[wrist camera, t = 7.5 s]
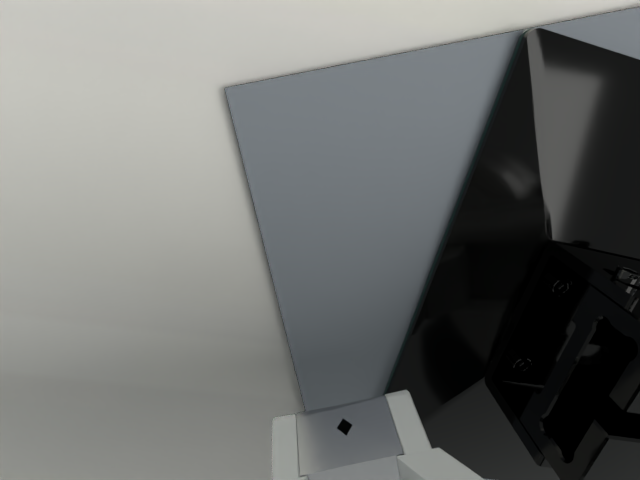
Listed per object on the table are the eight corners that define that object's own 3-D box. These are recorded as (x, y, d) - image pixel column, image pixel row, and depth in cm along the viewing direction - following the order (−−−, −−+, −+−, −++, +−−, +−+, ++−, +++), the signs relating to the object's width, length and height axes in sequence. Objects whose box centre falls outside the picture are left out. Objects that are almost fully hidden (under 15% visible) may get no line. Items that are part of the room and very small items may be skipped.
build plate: (519, 25, 10) (719, 3, 5) (783, 109, 11) (1110, 145, 7) (357, 457, 14) (397, 636, 10) (563, 479, 15) (677, 644, 11)
